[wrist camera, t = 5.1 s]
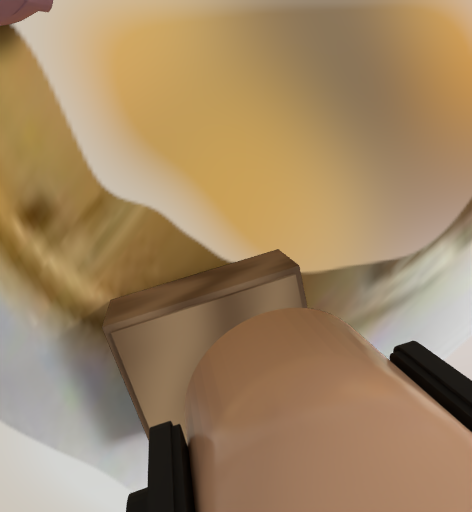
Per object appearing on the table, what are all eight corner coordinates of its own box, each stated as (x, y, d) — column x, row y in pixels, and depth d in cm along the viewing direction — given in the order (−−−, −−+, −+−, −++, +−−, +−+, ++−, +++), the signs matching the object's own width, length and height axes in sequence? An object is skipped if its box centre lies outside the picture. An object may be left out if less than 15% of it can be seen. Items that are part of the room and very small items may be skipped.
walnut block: (278, 249, 25) (300, 266, 21) (305, 374, 29) (328, 410, 25) (110, 300, 24) (101, 329, 20) (160, 426, 27) (160, 473, 23)
